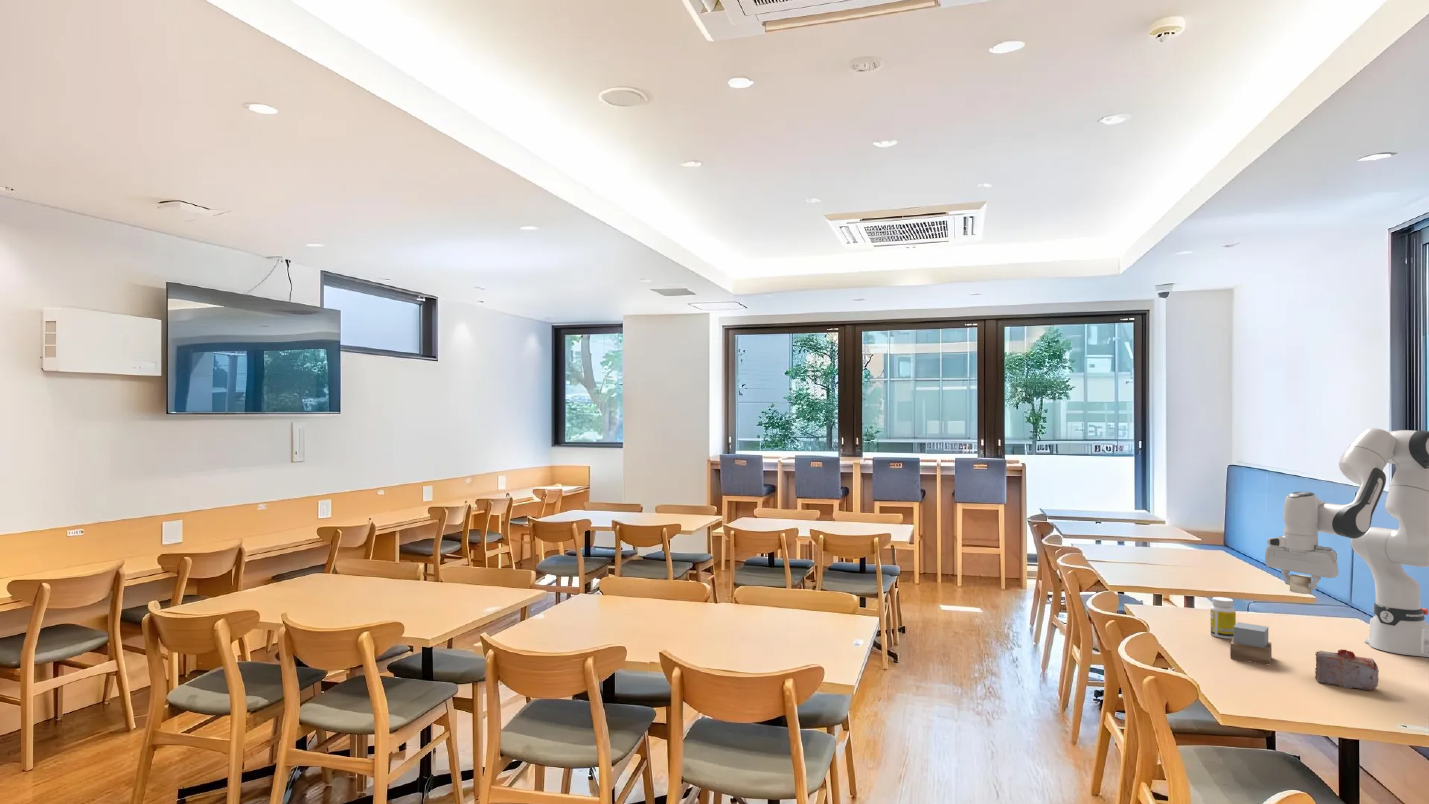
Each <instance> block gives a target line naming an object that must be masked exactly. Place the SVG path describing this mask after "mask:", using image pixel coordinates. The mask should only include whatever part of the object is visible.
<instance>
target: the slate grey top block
mask: <svg viewBox="0 0 1429 804" xmlns="http://www.w3.org/2000/svg"><path fill="white" fill-rule="evenodd" d="M1268 642H1269V626H1266V625H1259V624H1252V623H1248V622H1247V623H1246V622H1240V621H1237V622H1236V625H1235V626H1234V627H1233V643H1237V644H1243V645H1249V646H1254V647H1260V648H1265V647H1266V645H1267V644H1268Z"/></svg>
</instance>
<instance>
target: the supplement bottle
mask: <svg viewBox="0 0 1429 804" xmlns="http://www.w3.org/2000/svg"><path fill="white" fill-rule="evenodd" d="M1211 600H1212V601H1211V603H1212V605H1211V606H1210V608H1209V609H1210V612H1209V613H1210V614H1209V615H1210V635H1211V636H1213V637H1214V636H1215V638H1219V639H1223V638H1224V640H1225V639H1227V640H1232V639H1233V627H1234V626H1235V625H1236V624H1237V621H1236V620H1237V619H1236V617H1237V616H1236V614H1237V613H1236V612H1237V611H1236V609H1235V608H1234V600H1233V599H1232V598H1230V597H1223V596H1222V597H1220V596H1213V597H1212V598H1211Z"/></svg>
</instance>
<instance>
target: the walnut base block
mask: <svg viewBox="0 0 1429 804" xmlns="http://www.w3.org/2000/svg"><path fill="white" fill-rule="evenodd" d="M1229 649H1230V652H1229V653H1230V655H1229V656H1230V659H1231V660H1236V661H1241V662H1247V661H1251V662H1250V663H1253V662H1256V663H1255V664H1259V663H1260V665H1266V664H1270V665H1271V662H1272V658H1271V657H1272V642H1271V641H1268V644H1267V645H1266V647H1265V648H1260V647H1254V646H1249V645H1243V644H1237V643H1233V639H1231V641H1230V648H1229ZM1270 661H1271V662H1270Z"/></svg>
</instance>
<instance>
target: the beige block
mask: <svg viewBox="0 0 1429 804" xmlns="http://www.w3.org/2000/svg"><path fill="white" fill-rule="evenodd" d="M1289 576H1290V585H1289V592H1291V593H1296V594H1304V595H1312V589H1308V583H1311V582H1312V576H1311V575H1306V574H1289Z"/></svg>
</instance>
